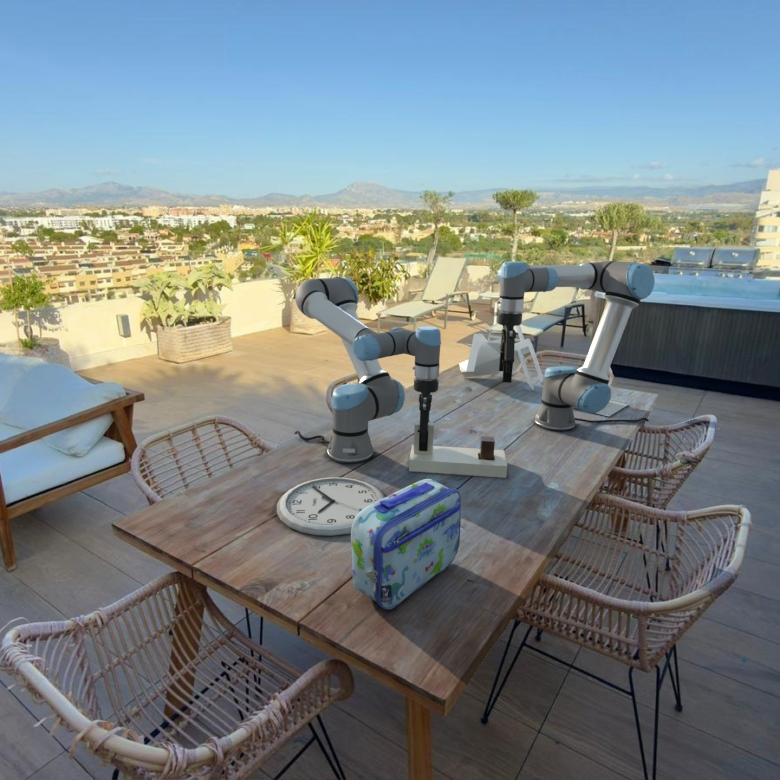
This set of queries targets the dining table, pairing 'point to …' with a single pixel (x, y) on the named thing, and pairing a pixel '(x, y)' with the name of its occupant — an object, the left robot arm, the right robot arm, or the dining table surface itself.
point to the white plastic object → (497, 357)
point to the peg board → (454, 459)
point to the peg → (487, 448)
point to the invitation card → (611, 408)
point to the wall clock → (326, 505)
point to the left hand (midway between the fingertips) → (423, 448)
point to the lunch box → (405, 541)
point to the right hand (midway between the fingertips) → (504, 376)
